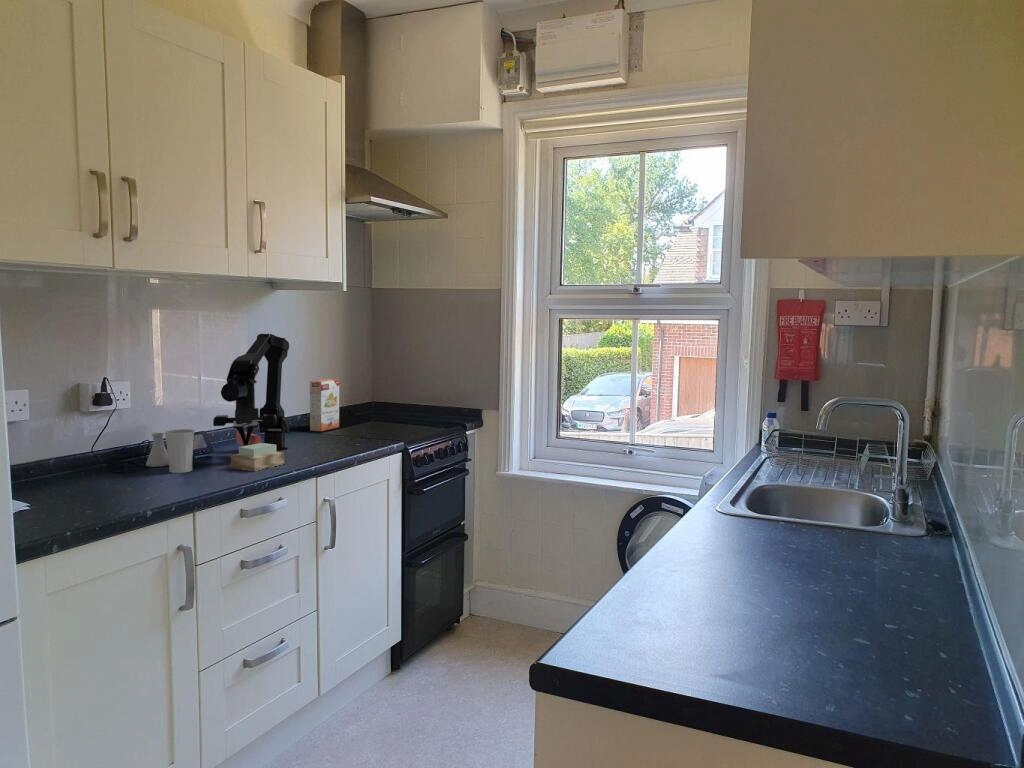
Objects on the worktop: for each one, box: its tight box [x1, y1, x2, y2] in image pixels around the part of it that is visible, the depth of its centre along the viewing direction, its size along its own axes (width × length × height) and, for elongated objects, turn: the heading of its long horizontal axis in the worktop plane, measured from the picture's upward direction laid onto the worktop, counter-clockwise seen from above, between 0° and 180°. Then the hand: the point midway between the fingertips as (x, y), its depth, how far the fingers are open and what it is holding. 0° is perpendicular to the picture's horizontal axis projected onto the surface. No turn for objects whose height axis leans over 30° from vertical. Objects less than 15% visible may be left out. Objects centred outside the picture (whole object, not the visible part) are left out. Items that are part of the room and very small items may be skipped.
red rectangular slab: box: [236, 430, 262, 446], centre depth 232 cm, size 14×2×7 cm, turn 44°
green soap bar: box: [238, 442, 276, 457], centre depth 219 cm, size 9×6×2 cm
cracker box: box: [309, 378, 340, 433], centre depth 296 cm, size 14×6×21 cm, turn 162°
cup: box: [164, 428, 195, 474], centre depth 212 cm, size 8×8×12 cm
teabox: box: [230, 450, 285, 472], centre depth 220 cm, size 12×10×4 cm
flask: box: [145, 432, 169, 468], centre depth 220 cm, size 7×7×10 cm
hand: (246, 446), depth 227 cm, fingers closed
